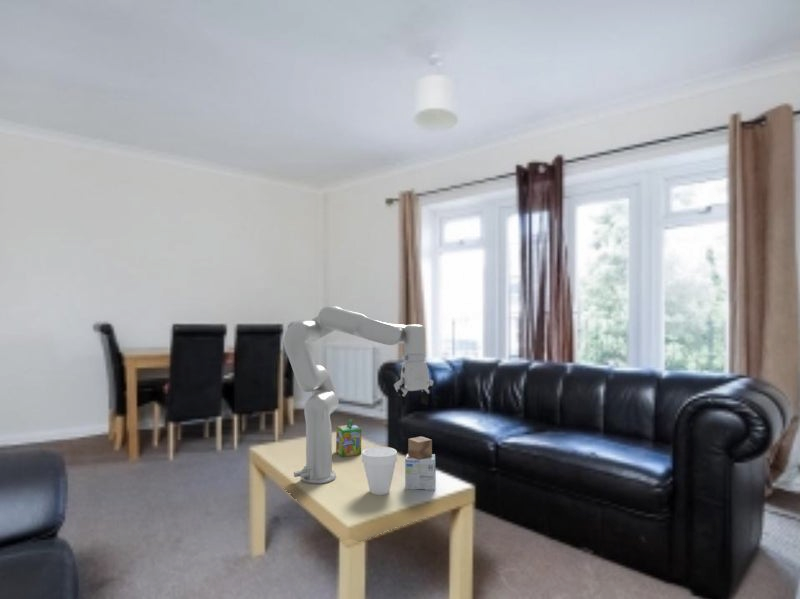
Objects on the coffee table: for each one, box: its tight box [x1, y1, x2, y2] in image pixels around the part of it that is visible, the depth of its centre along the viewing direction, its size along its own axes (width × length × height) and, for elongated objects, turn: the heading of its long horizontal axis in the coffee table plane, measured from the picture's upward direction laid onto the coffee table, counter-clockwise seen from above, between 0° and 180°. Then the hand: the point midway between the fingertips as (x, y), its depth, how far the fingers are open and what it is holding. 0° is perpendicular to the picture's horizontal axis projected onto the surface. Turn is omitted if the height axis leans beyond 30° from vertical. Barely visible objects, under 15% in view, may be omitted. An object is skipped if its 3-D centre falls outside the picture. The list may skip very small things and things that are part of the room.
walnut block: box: [407, 436, 433, 460], centre depth 166 cm, size 6×6×6 cm
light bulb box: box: [404, 453, 437, 491], centre depth 166 cm, size 11×7×11 cm, turn 84°
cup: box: [361, 446, 398, 496], centre depth 162 cm, size 12×12×14 cm
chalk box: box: [335, 418, 362, 458], centre depth 207 cm, size 9×9×15 cm
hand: (414, 405), depth 170 cm, fingers open, 9 cm apart
